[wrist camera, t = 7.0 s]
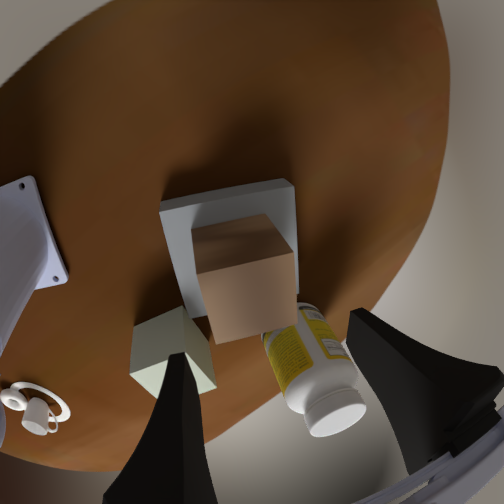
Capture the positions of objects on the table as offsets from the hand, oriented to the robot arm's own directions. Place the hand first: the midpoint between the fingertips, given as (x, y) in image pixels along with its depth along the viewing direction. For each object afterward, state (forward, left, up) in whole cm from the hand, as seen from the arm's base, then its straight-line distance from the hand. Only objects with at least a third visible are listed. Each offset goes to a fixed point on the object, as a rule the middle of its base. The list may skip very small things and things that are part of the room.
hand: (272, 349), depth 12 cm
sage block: (-6, -7, -10) cm, 14 cm away
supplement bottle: (+4, -9, -10) cm, 14 cm away
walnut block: (0, 0, -8) cm, 8 cm away
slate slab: (0, 0, -10) cm, 10 cm away
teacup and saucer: (-25, -12, -11) cm, 30 cm away
